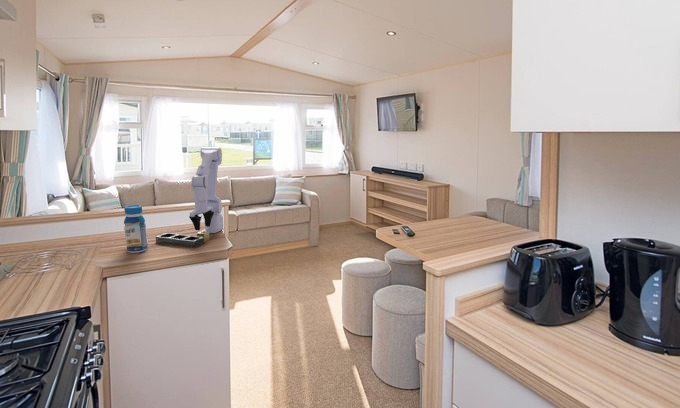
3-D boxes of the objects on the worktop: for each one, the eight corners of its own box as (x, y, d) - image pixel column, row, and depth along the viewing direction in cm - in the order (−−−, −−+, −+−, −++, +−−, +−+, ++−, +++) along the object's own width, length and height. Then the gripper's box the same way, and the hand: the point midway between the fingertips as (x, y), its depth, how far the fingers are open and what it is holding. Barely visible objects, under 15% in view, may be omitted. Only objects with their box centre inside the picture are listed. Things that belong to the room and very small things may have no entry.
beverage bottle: (151, 249, 174) (147, 205, 170) (133, 254, 167) (128, 209, 163) (141, 246, 178) (137, 203, 174) (122, 250, 171) (118, 206, 167)
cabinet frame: (166, 238, 190) (166, 232, 190) (204, 243, 183) (204, 237, 183) (156, 242, 184) (155, 236, 183) (194, 247, 177) (194, 241, 176)
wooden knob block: (202, 238, 191) (202, 230, 190) (209, 239, 190) (209, 231, 189) (197, 240, 187) (196, 232, 187) (204, 241, 186) (203, 233, 185)
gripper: (203, 197, 193) (205, 224, 195) (183, 202, 179) (185, 231, 182) (215, 198, 190) (217, 225, 193) (196, 203, 177) (198, 232, 180)
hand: (202, 228), depth 187 cm, fingers open, 7 cm apart
